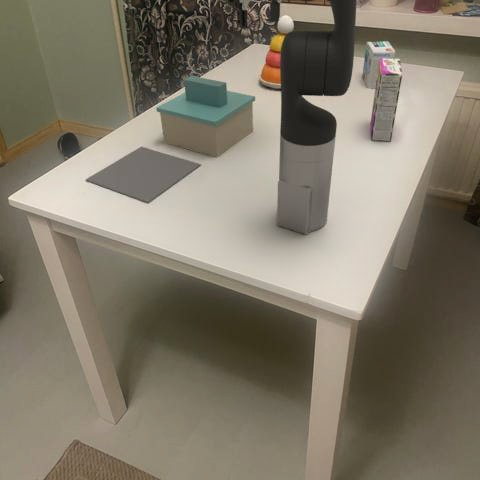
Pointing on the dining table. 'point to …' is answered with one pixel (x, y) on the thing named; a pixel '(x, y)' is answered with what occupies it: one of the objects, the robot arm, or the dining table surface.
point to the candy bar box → (385, 99)
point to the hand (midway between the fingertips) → (259, 24)
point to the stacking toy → (275, 55)
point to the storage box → (208, 132)
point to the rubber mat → (143, 174)
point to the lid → (206, 102)
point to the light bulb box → (375, 60)
